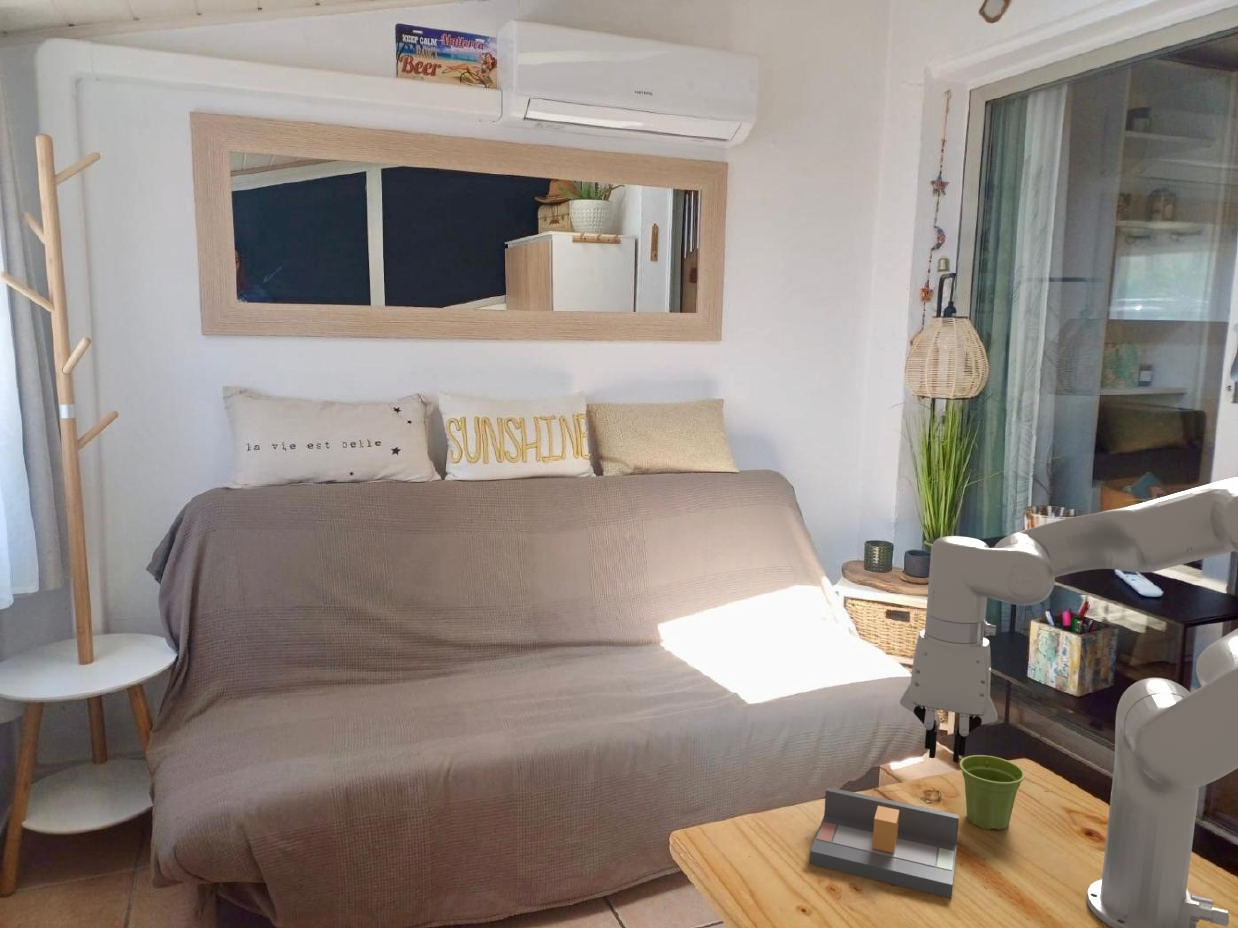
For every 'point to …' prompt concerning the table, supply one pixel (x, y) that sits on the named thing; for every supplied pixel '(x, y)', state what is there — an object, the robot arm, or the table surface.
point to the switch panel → (913, 865)
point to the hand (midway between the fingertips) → (944, 755)
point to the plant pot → (990, 789)
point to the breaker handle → (885, 829)
